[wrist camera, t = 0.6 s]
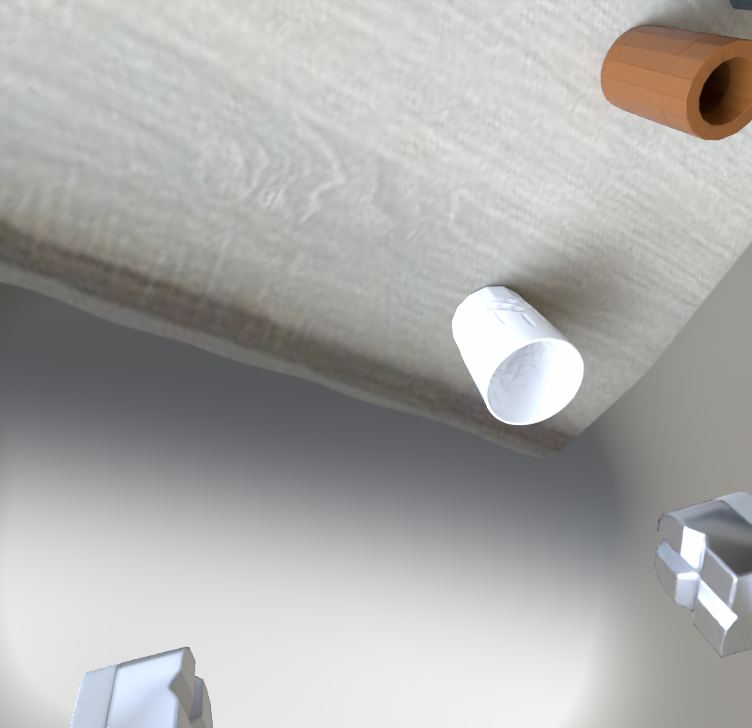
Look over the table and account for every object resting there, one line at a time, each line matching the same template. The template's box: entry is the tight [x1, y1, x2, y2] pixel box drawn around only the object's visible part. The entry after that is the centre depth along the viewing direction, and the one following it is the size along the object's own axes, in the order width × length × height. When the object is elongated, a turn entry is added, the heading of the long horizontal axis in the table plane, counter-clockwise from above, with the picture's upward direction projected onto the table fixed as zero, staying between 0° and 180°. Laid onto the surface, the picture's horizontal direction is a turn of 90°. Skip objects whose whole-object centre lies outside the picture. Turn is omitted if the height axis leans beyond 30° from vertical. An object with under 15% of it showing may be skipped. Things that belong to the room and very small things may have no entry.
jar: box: [601, 25, 752, 140], centre depth 40 cm, size 6×6×10 cm
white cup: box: [452, 286, 584, 425], centre depth 50 cm, size 8×8×10 cm
